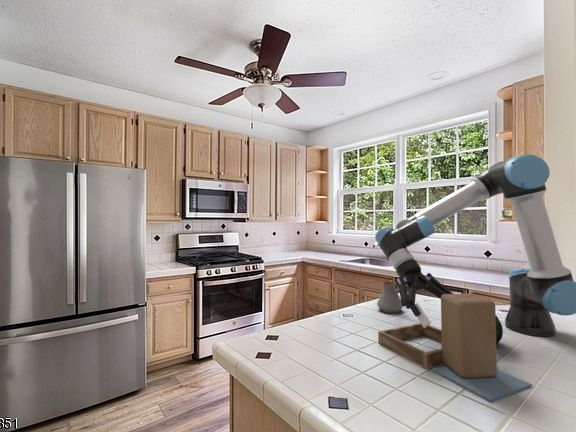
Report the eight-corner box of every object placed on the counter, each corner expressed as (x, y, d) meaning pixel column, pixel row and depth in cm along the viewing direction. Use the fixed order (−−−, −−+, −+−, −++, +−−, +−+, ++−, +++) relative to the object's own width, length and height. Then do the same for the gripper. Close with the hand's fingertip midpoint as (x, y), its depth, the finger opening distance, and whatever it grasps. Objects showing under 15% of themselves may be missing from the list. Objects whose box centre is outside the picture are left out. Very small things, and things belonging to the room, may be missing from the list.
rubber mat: (471, 360, 92) (471, 358, 92) (531, 386, 77) (531, 384, 77) (432, 371, 85) (432, 369, 85) (490, 402, 71) (490, 399, 71)
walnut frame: (422, 333, 114) (422, 322, 114) (475, 355, 95) (474, 342, 95) (378, 343, 106) (378, 331, 106) (426, 368, 87) (426, 354, 87)
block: (498, 378, 80) (497, 301, 81) (461, 379, 80) (460, 302, 80) (473, 360, 90) (472, 292, 91) (440, 362, 90) (439, 293, 90)
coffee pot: (371, 309, 146) (371, 277, 146) (390, 306, 151) (390, 275, 151) (406, 322, 127) (405, 285, 127) (426, 318, 131) (425, 283, 132)
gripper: (425, 268, 113) (464, 322, 99) (370, 274, 103) (405, 334, 89) (437, 255, 108) (480, 309, 94) (381, 260, 98) (420, 321, 84)
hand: (444, 322), depth 91 cm, fingers open, 13 cm apart
